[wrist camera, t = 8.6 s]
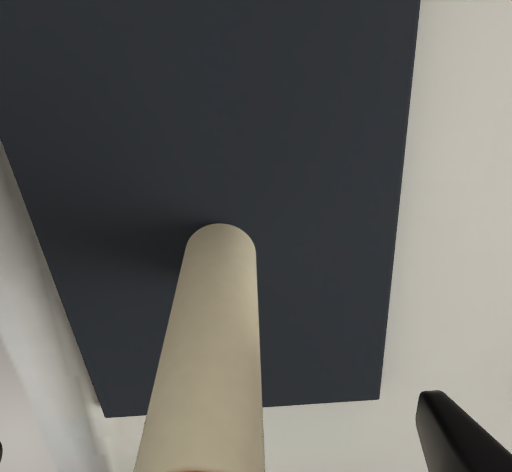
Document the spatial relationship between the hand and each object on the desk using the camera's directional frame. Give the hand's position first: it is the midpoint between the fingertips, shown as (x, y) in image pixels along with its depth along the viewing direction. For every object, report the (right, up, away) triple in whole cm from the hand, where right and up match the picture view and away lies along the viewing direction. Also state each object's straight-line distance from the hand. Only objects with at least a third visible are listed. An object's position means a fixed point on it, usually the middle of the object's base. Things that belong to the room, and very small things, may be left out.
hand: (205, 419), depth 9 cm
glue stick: (0, +3, +6) cm, 6 cm away
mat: (0, +4, +6) cm, 7 cm away
